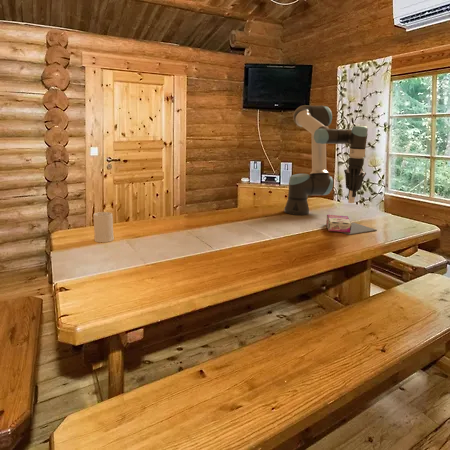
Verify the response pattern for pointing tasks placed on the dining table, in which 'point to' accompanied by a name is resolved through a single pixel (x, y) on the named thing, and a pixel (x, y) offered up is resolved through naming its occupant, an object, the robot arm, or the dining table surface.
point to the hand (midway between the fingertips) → (351, 202)
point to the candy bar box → (338, 223)
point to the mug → (103, 227)
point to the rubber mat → (358, 229)
